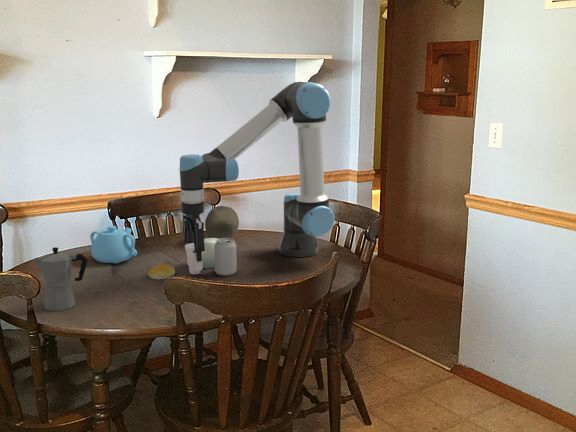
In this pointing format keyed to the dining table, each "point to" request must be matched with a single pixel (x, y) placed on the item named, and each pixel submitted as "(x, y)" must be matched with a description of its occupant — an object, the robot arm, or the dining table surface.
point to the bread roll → (161, 271)
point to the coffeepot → (59, 278)
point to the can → (225, 256)
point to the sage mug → (209, 253)
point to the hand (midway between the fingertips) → (194, 267)
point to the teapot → (113, 245)
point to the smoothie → (191, 258)
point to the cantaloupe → (222, 222)
